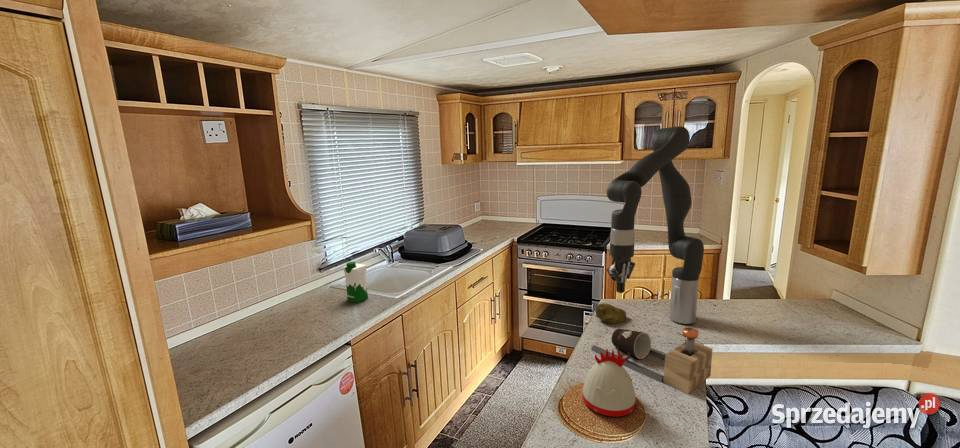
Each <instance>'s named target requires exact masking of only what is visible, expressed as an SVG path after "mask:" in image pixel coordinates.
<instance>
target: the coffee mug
mask: <svg viewBox="0 0 960 448" xmlns="http://www.w3.org/2000/svg"><path fill="white" fill-rule="evenodd" d="M611 343H612V346H614V348H617V355H618V354H619V352H620V350H621V351H623V352H625V353H627V354H628V355H627V356H626V359H627V360H629V359H631V356H633V357H635V358H636V359H639V360H643V359H645V358H646V357H647V356H648V355H649V354H650V353H649V351H650V348H652V340H651V337H650V335H649V333H647V332H644V331H636V330H631V329H625V328H616V329H615V330H614V331H613V332H612V335H611Z"/></svg>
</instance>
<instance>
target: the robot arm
mask: <svg viewBox="0 0 960 448" xmlns="http://www.w3.org/2000/svg"><path fill="white" fill-rule="evenodd" d="M690 138H691V135H690V132H689V130H688V128H687V127H686V126H685V127H684V126H670V127H662V128H657V129H655V130H654V132H653V134H652V136H651V147H652V152H650V153H649V154H647V155H645V156H642V158H640V159H638V160H637V161H636V162H635V163H634V164H633V166H632V167H631V168H629V169H628V171H626V172H624V173H621V174H620V175H618V176H617V177H615V178H614V179H612V180H611V182H610V183H609V184H608V186H607V188H606V197H607V198H608V200H609V201H611V202H614V203H621V204H622V203H624V205H623V208H622V209H621V208H620V209H615V210H613V211H612V213H611V220H610V221H611V224H610V225H611V227H610V234H609V256H610V257H612V260H611V266H610V267H607V268H606V272H607V273H608V275H609V277H610V280H611V281H612V282H616V283H615V284H616V285H615V287H616V288H615V290H616V292H617V293H619V294H623V293H625V291H626V282H627V280H629V279H630V278H631V276H632V272H633V271H634V268H635V266H636V263H635V262H634V261H633V262H632V258H633V257H634V255H635V237H636V236H635V217H636V213H637V210H638V206H639V203H640V201H641V198H642V194H643V192H642V191H643V190H642V188H643V187H644V186H645V185H647V184H648V182H650V181H651V179H652V178H653V177H654V176H655V174H657V172H658V175H659V180H660V184H661V185H660V186H661V191H662V192H661V193H662V199H663V205H664V210H665V217H666V226H667V227H666V228H667V242H668V243H667V244H668V251H669V254H670V255H671V256H672V257H673V258H675V259H678V260H681V261H683V265H682V266H678V267H674V268H673V269H672V273H671V289H670V306H669V318H670V320H671V321H673V322H676V323H679V324H689V325H691V324H694V323H696V321H697V312H698V311H697V310H698V298H699V297H698V295H699V283H700V280H699V279H700V274H701V272H702V269H703V261H704V254H705V245H704V242H703V241H702V240H701V239H700V238H697V237H693V236H687V235H686V234H685V227H684V225H685V224H684V223H685V219H686V217H687V215H688V214H689V212H690V209H691V207H692V205H693V204H692V195H691V194H692V193H691V187H690V185H689V183H688V181H687V180H686V179H685V177H684V176H683V175H682V174H681V172H679V171H678V169H677V167H676V166H675V165H674V163H673V160H674V159H675V158H676V157H678V156H680V155H681V154H682V153H683V152H685V151H686V149H688V147H689V144H690V141H691V139H690Z"/></svg>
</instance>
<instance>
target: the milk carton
mask: <svg viewBox="0 0 960 448" xmlns="http://www.w3.org/2000/svg"><path fill="white" fill-rule="evenodd" d="M367 266H368V265H367V264H362V263H357V262H355V261H348V262H346V265H345V266H343V267H342V269H343V270H342V271H343V274H344V277H345V284H346V285H345V286H346V301H347V302H349V303H353V304H359V303H362V302H363V301H364V302H365V301H366V300H369V293H368V286H367V285H368V284H367V275H366V274H367Z"/></svg>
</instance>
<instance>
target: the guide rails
mask: <svg viewBox="0 0 960 448" xmlns="http://www.w3.org/2000/svg"><path fill="white" fill-rule="evenodd" d="M590 347H591V349H590V350H591V351H592V352H594V353H597V354H598V355H600V352H602V353H603V355H604V356H605V355H606V350H607V349H604V348H602V347H600V346H597V345H595V344H594V345H592V346H590ZM608 353H609V356H610V357H611V355H612V351H609V350H608ZM648 354H650V355H652V356H654V357H657V358H660V359H661V360H664V361H665V355H666V354H667V353H666V352H663V351H661V350H658V349H655V348H654V347H651V348H650V351H649V353H648ZM614 355H615V357H616V358H617V357H618V354H615V353H614ZM623 358H624V357H622V356H621V359H623ZM622 366H623V367H626V368H629V369H631V370H633V371H634V372H635V371H636V372H637V373H639V374H641V375H643V376H647V377H648V378H650V379H653V380H656V381H657V382H660V383H664V374H661V373H658V372H656V371H654V370H651V369H649V368H648V367H644V366H642V365H640V364H638V363H636V362H633V361H631V360H629V359H628V360H627V359H626V360H625V362H624V364H623V365H622Z"/></svg>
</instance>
